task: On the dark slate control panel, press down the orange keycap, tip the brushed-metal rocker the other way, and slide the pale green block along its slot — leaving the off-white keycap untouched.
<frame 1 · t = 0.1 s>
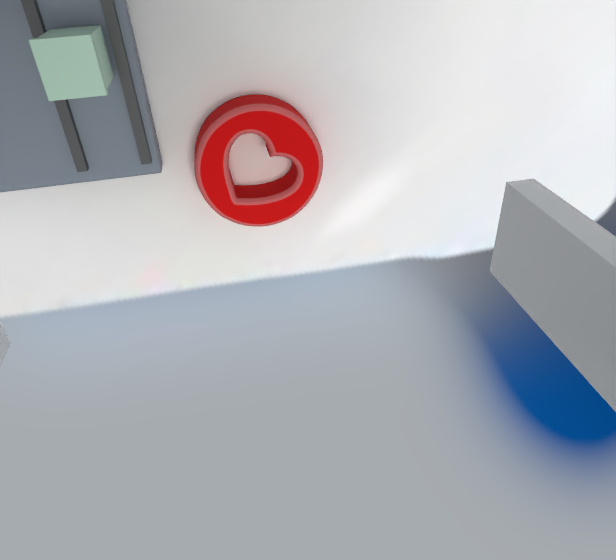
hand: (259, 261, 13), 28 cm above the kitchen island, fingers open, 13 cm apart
pale green block: (76, 60, 30), point 5 cm above the kitchen island, slide at 0.0 cm
decorative ornament: (255, 155, 41), on the kitchen island
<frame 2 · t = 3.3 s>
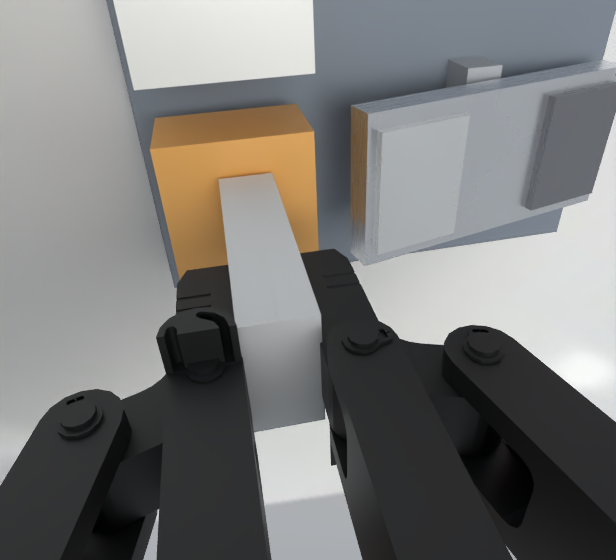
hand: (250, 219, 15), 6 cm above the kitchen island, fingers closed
rocker: (489, 161, 17), point 5 cm above the kitchen island, hinge at 13.0°
button a: (239, 193, 16), point 5 cm above the kitchen island, slide at 0.4 cm, touching gripper
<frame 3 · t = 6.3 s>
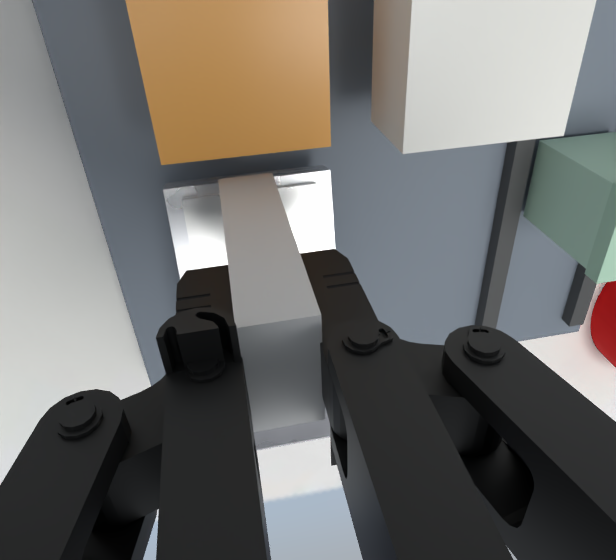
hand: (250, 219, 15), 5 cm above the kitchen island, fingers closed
pale green block: (608, 201, 17), point 5 cm above the kitchen island, slide at 0.0 cm
rocker: (266, 323, 17), point 5 cm above the kitchen island, hinge at -11.8°, touching gripper
panel: (370, 173, 20), on the kitchen island
button a: (233, 54, 13), point 4 cm above the kitchen island, slide at 1.1 cm
button b: (472, 42, 13), point 5 cm above the kitchen island, slide at 0.0 cm
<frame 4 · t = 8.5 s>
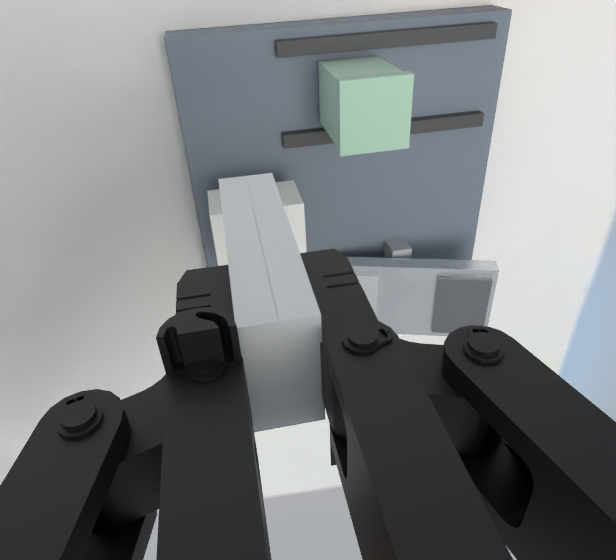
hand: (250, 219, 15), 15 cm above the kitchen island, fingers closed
pale green block: (361, 102, 24), point 5 cm above the kitchen island, slide at 0.0 cm
rocker: (405, 298, 31), point 5 cm above the kitchen island, hinge at -18.5°
panel: (338, 197, 31), on the kitchen island
button b: (258, 236, 26), point 5 cm above the kitchen island, slide at 0.0 cm
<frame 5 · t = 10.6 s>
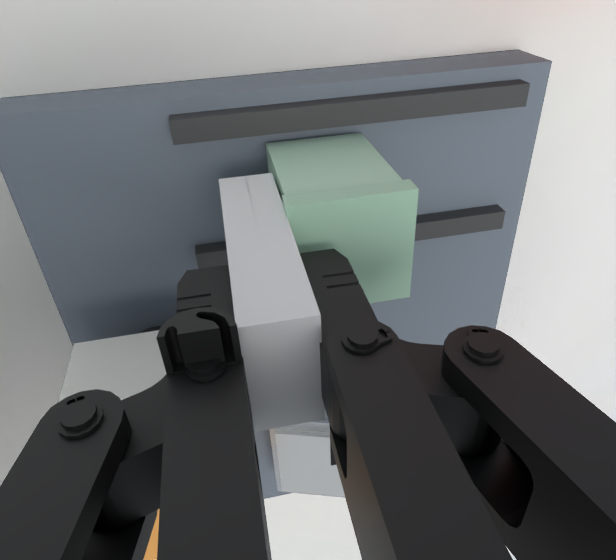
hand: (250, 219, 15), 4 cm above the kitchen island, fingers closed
pale green block: (332, 214, 15), point 5 cm above the kitchen island, slide at 0.7 cm, touching gripper
rocker: (389, 460, 22), point 5 cm above the kitchen island, hinge at -18.5°
panel: (295, 313, 22), on the kitchen island
button a: (189, 489, 21), point 4 cm above the kitchen island, slide at 1.1 cm
button b: (156, 410, 17), point 5 cm above the kitchen island, slide at 0.0 cm
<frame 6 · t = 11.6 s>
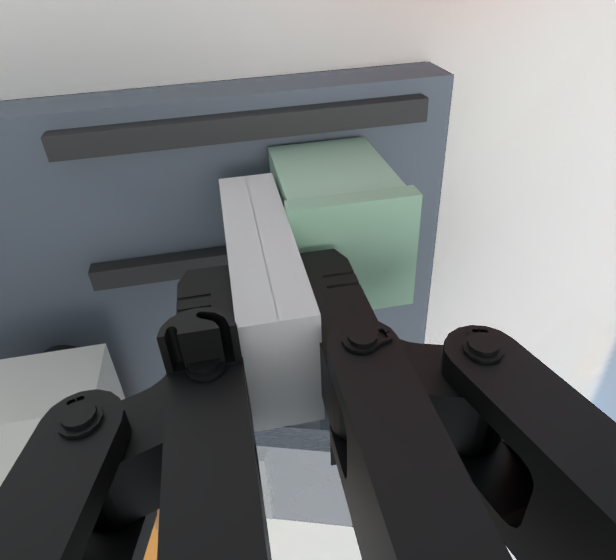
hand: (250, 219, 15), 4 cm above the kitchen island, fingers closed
pale green block: (334, 219, 15), point 5 cm above the kitchen island, slide at 4.1 cm, touching gripper
rocker: (312, 481, 21), point 5 cm above the kitchen island, hinge at -18.5°
panel: (218, 329, 22), on the kitchen island
button a: (103, 510, 20), point 4 cm above the kitchen island, slide at 1.1 cm
button b: (46, 435, 16), point 5 cm above the kitchen island, slide at 0.0 cm
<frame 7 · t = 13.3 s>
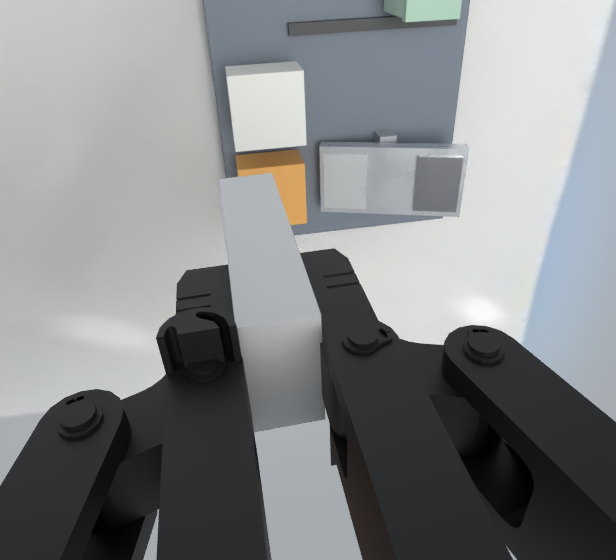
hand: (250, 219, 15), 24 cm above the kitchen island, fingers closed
rocker: (390, 180, 36), point 5 cm above the kitchen island, hinge at -18.5°
panel: (335, 94, 37), on the kitchen island
button a: (271, 189, 36), point 4 cm above the kitchen island, slide at 1.1 cm
button b: (266, 106, 31), point 5 cm above the kitchen island, slide at 0.0 cm
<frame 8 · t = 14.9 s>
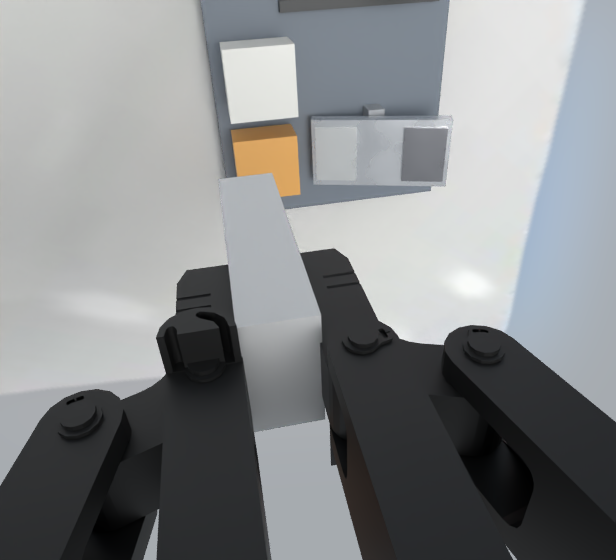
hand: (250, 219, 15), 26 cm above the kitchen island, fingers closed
rocker: (379, 152, 38), point 5 cm above the kitchen island, hinge at -18.5°
panel: (325, 71, 38), on the kitchen island
button a: (265, 162, 37), point 4 cm above the kitchen island, slide at 1.1 cm
button b: (259, 80, 33), point 5 cm above the kitchen island, slide at 0.0 cm
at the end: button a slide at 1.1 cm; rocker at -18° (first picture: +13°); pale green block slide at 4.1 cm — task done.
